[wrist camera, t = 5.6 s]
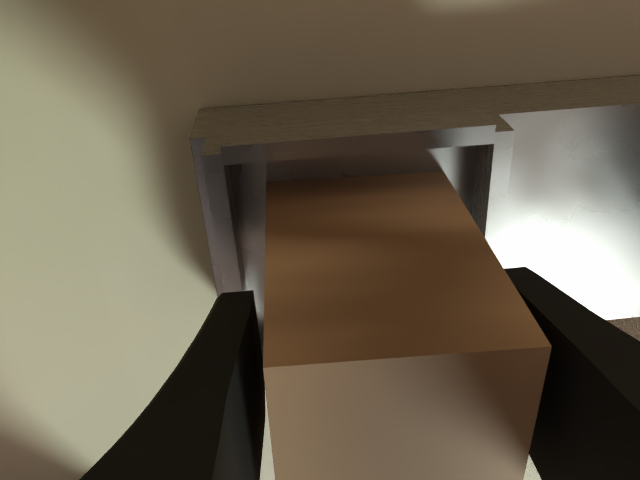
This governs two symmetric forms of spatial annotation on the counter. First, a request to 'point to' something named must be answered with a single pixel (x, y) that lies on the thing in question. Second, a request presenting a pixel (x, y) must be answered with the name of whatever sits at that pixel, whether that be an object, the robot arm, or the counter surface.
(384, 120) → the rail
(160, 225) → the counter surface
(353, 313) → the walnut block
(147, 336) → the counter surface
